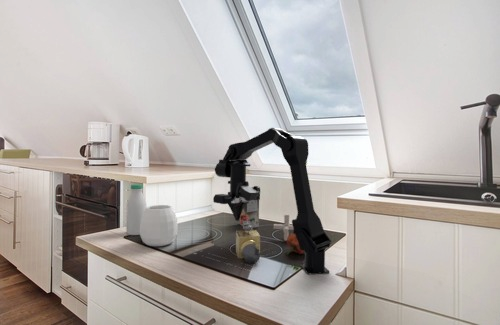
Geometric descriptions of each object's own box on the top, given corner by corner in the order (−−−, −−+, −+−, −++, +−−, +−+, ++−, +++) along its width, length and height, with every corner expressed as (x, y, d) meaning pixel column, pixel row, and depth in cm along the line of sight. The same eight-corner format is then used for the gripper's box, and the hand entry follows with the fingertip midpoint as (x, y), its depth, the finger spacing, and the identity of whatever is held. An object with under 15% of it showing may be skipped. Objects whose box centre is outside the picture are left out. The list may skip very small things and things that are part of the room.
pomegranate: (297, 265, 95) (318, 243, 98) (284, 248, 93) (305, 227, 97) (287, 259, 102) (306, 239, 105) (274, 243, 100) (294, 224, 104)
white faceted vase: (139, 239, 111) (140, 204, 111) (175, 237, 116) (175, 203, 115) (139, 251, 99) (139, 211, 98) (179, 247, 103) (180, 209, 103)
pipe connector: (298, 245, 108) (299, 218, 108) (272, 242, 110) (272, 216, 110) (299, 237, 118) (300, 212, 118) (275, 235, 120) (275, 211, 120)
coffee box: (259, 227, 133) (260, 192, 133) (246, 228, 130) (247, 192, 130) (250, 222, 142) (251, 189, 141) (238, 223, 139) (239, 190, 138)
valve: (263, 263, 90) (263, 236, 89) (240, 264, 89) (240, 237, 88) (253, 245, 106) (253, 223, 106) (234, 246, 105) (234, 223, 105)
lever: (253, 233, 96) (253, 224, 96) (243, 233, 95) (243, 224, 95) (248, 222, 111) (248, 214, 111) (239, 222, 110) (239, 214, 110)
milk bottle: (146, 234, 118) (147, 185, 118) (126, 236, 115) (126, 185, 115) (146, 229, 125) (146, 183, 125) (126, 231, 123) (126, 183, 122)
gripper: (234, 180, 96) (233, 228, 96) (271, 178, 109) (270, 220, 109) (212, 178, 103) (211, 222, 104) (249, 177, 117) (249, 216, 117)
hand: (237, 220), depth 108 cm, fingers closed
